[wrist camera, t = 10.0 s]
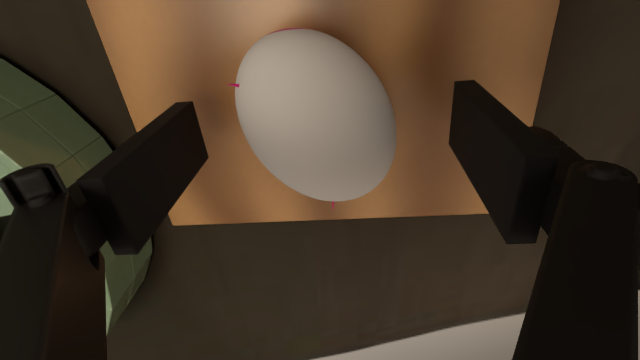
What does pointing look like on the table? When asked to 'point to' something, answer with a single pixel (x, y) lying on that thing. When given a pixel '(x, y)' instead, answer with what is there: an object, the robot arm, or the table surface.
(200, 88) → the wooden board
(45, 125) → the bowl
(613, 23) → the table surface
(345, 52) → the stress ball
